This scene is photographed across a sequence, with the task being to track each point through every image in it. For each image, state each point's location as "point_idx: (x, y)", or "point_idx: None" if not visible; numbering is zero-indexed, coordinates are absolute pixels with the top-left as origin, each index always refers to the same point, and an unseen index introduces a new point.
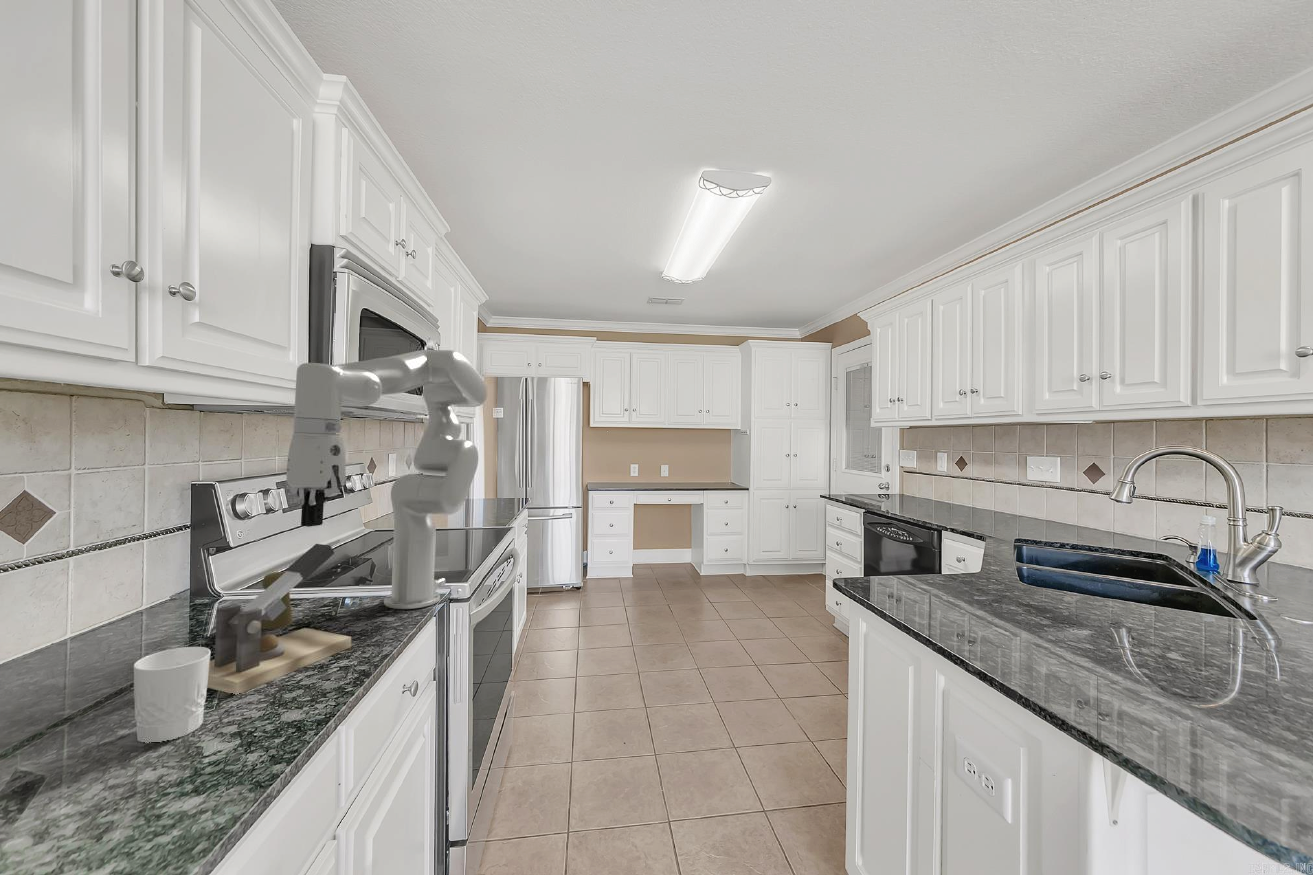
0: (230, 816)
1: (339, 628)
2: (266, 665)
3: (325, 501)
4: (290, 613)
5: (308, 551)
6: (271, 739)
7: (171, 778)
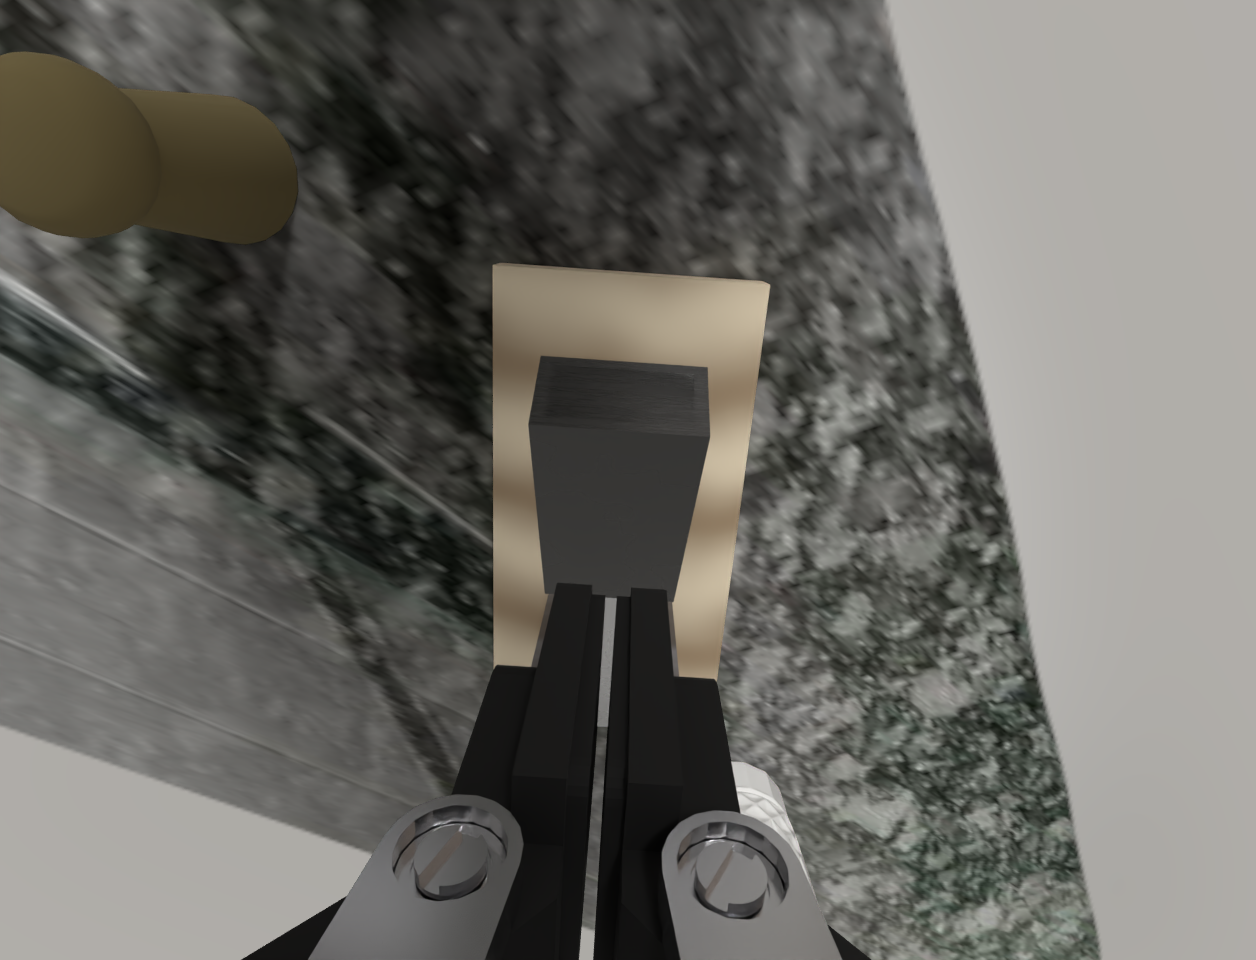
0: (1078, 922)
1: (540, 103)
2: (691, 587)
3: (797, 891)
4: (250, 134)
5: (549, 490)
6: (971, 773)
7: (892, 890)
